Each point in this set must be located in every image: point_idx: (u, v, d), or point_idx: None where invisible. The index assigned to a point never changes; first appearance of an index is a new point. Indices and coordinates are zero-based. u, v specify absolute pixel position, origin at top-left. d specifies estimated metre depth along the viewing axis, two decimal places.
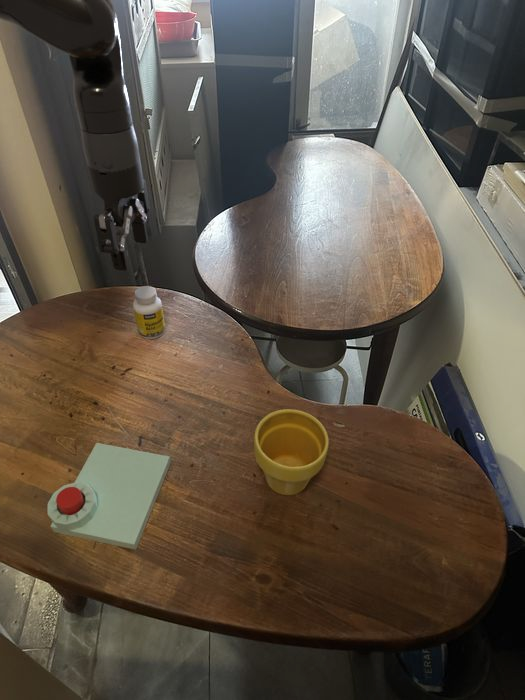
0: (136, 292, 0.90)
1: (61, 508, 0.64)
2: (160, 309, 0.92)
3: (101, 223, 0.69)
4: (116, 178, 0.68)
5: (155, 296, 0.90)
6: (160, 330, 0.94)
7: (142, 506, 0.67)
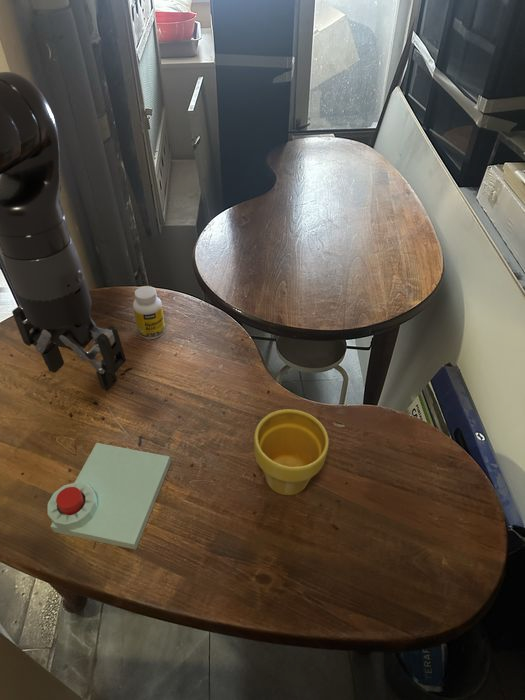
0: (136, 292, 0.90)
1: (61, 508, 0.64)
2: (160, 309, 0.92)
3: (111, 339, 0.57)
4: (85, 287, 0.55)
5: (155, 296, 0.90)
6: (160, 330, 0.94)
7: (142, 506, 0.67)
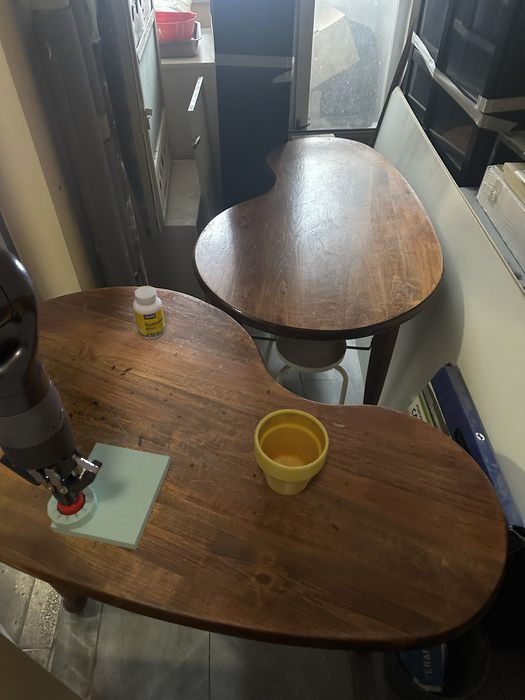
0: (136, 292, 0.90)
1: (62, 510, 0.64)
2: (160, 309, 0.92)
3: None
4: (67, 419, 0.55)
5: (155, 296, 0.90)
6: (160, 330, 0.94)
7: (142, 506, 0.67)
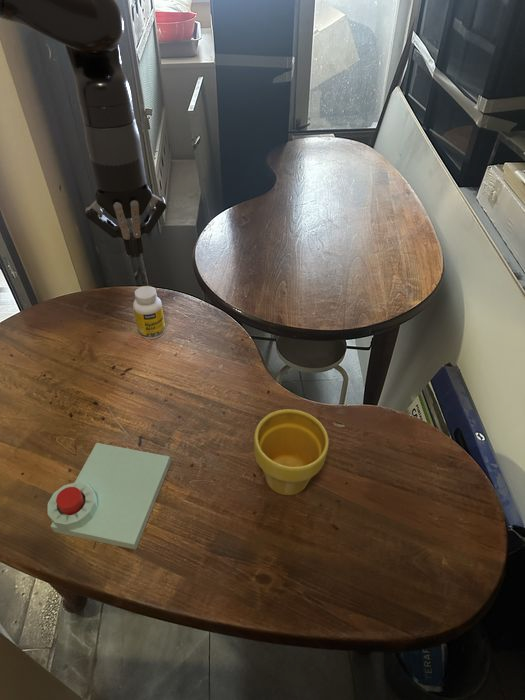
0: (136, 292, 0.90)
1: (61, 508, 0.64)
2: (160, 309, 0.92)
3: None
4: None
5: (155, 296, 0.90)
6: (160, 330, 0.94)
7: (142, 506, 0.67)
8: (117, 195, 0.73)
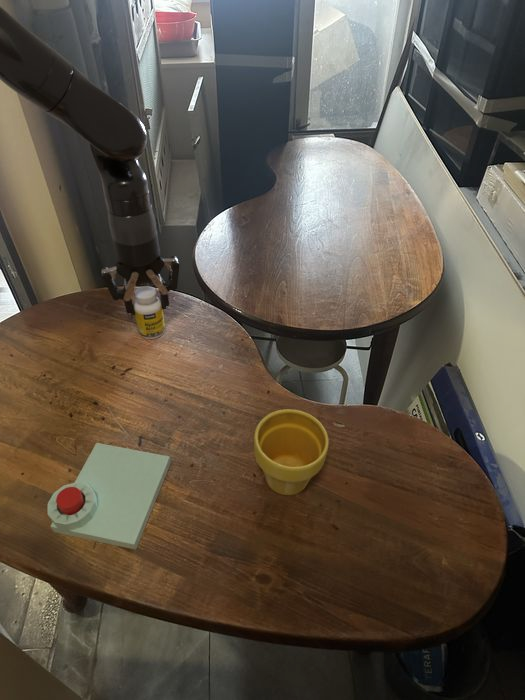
0: (136, 292, 0.90)
1: (61, 508, 0.64)
2: (160, 309, 0.92)
3: None
4: None
5: (155, 296, 0.90)
6: (160, 330, 0.94)
7: (142, 506, 0.67)
8: (134, 265, 0.84)
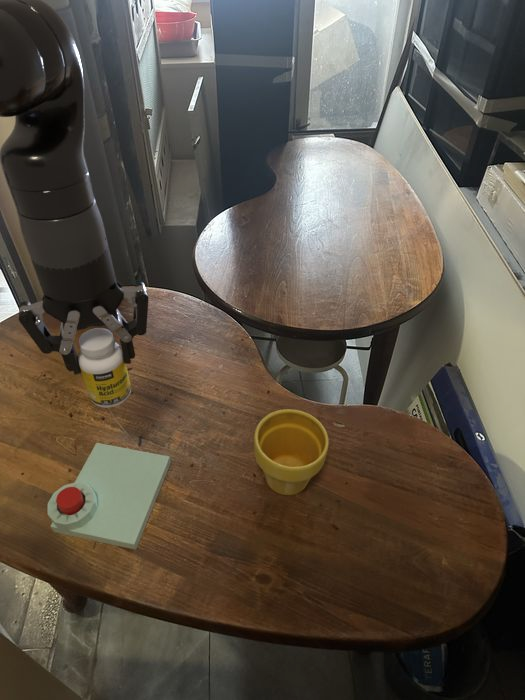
0: (81, 339, 0.56)
1: (61, 508, 0.64)
2: (121, 364, 0.59)
3: None
4: None
5: (112, 345, 0.57)
6: (122, 394, 0.61)
7: (142, 506, 0.67)
8: None
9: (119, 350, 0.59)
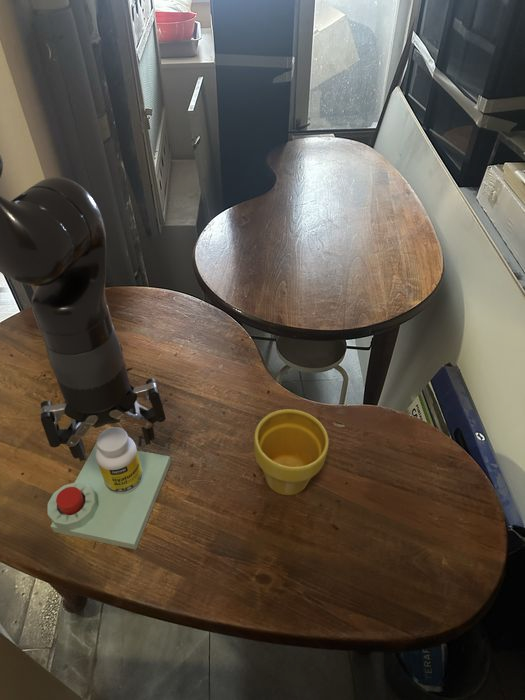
0: (99, 439, 0.63)
1: (61, 508, 0.64)
2: (134, 458, 0.65)
3: (157, 389, 0.60)
4: None
5: (126, 444, 0.64)
6: (134, 482, 0.68)
7: (142, 506, 0.67)
8: None
9: (132, 446, 0.66)
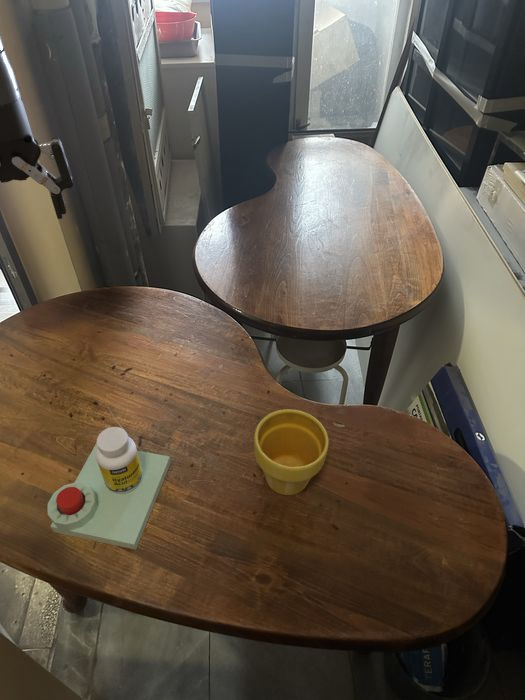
0: (99, 439, 0.63)
1: (61, 508, 0.64)
2: (134, 458, 0.65)
3: (61, 147, 0.63)
4: None
5: (126, 444, 0.64)
6: (134, 482, 0.68)
7: (142, 506, 0.67)
8: None
9: (132, 446, 0.66)
